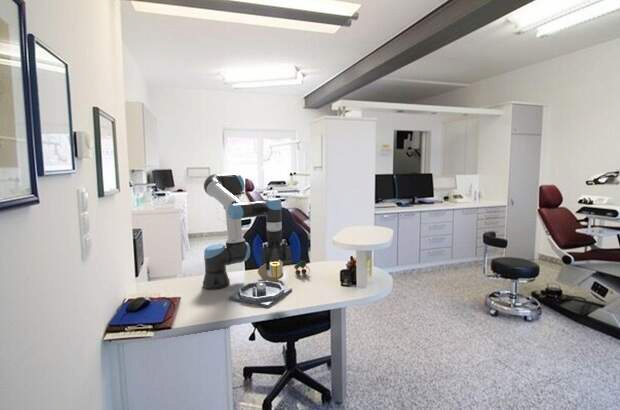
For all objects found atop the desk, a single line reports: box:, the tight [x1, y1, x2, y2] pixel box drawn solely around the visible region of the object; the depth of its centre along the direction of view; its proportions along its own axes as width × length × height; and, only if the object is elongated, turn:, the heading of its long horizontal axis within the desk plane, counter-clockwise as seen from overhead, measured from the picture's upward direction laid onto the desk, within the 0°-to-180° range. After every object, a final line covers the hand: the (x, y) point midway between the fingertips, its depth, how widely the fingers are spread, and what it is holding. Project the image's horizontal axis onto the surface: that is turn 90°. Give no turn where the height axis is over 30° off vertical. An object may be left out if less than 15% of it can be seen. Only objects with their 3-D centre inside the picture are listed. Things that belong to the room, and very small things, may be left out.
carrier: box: [228, 280, 293, 308], centre depth 179 cm, size 24×24×6 cm
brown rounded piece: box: [257, 261, 284, 283], centre depth 202 cm, size 13×8×15 cm
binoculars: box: [293, 260, 311, 278], centre depth 209 cm, size 9×9×10 cm
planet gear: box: [270, 261, 282, 277], centre depth 169 cm, size 6×6×6 cm
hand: (275, 274), depth 170 cm, fingers closed on planet gear, 6 cm apart
